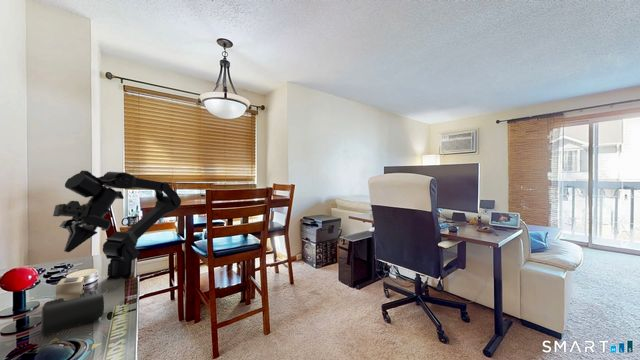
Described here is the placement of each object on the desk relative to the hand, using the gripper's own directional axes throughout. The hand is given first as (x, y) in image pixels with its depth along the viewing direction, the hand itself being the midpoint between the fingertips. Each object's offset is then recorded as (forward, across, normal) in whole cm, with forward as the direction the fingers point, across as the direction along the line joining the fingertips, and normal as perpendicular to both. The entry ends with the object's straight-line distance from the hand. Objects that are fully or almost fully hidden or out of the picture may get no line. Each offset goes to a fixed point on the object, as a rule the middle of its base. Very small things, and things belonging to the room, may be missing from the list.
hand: (66, 251), depth 70 cm
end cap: (+17, +17, +5) cm, 24 cm away
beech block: (+11, -2, +8) cm, 13 cm away
